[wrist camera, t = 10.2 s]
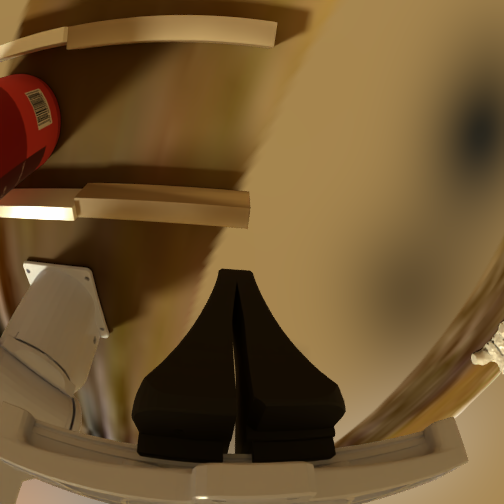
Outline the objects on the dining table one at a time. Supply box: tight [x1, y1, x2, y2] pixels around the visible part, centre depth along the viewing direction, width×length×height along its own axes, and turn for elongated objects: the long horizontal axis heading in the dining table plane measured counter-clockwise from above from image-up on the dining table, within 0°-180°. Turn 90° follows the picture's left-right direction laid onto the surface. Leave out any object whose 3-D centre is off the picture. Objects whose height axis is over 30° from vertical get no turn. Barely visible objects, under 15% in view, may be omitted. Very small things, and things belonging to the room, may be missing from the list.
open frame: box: [0, 27, 82, 221], centre depth 15 cm, size 13×12×3 cm
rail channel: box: [67, 15, 278, 228], centre depth 17 cm, size 13×12×2 cm
